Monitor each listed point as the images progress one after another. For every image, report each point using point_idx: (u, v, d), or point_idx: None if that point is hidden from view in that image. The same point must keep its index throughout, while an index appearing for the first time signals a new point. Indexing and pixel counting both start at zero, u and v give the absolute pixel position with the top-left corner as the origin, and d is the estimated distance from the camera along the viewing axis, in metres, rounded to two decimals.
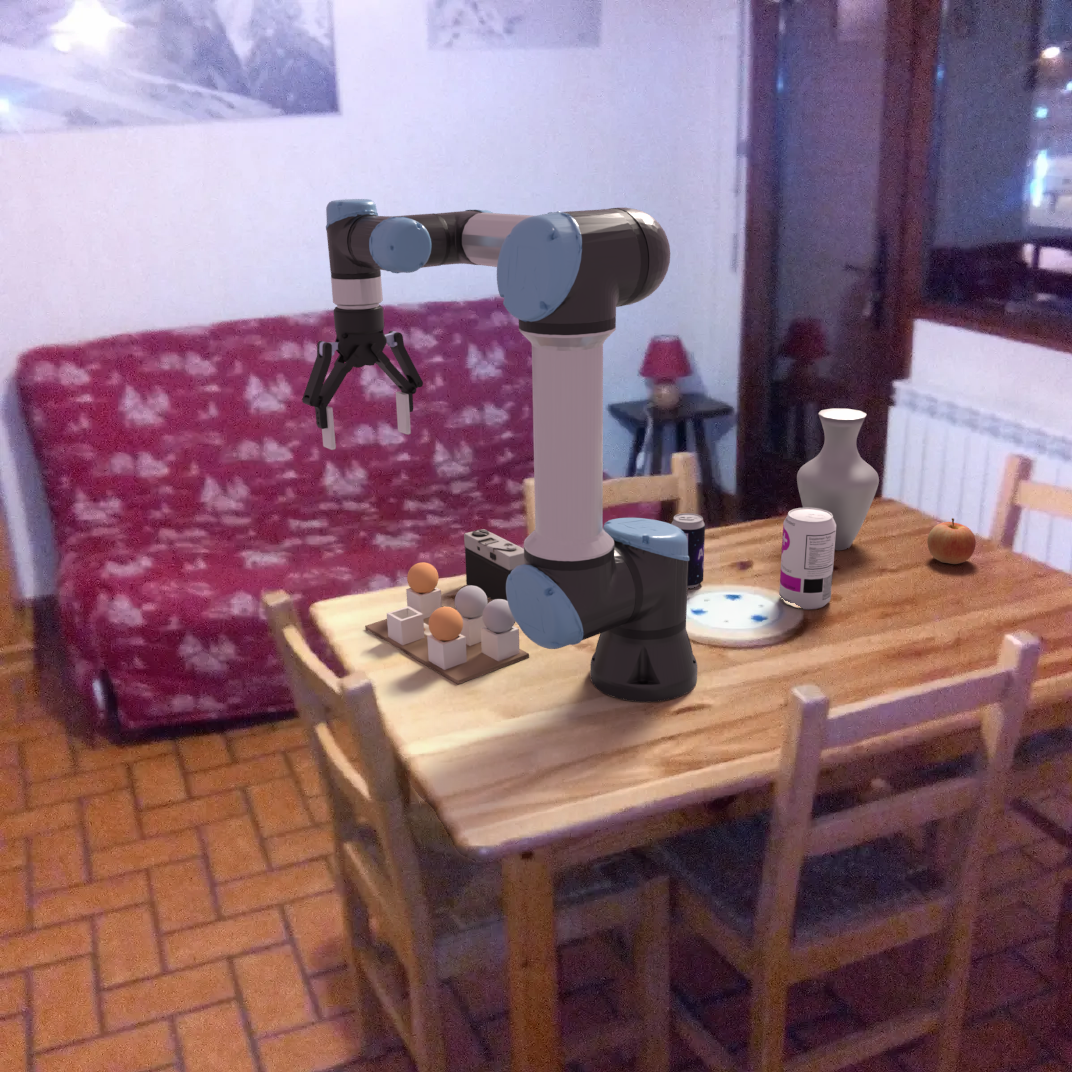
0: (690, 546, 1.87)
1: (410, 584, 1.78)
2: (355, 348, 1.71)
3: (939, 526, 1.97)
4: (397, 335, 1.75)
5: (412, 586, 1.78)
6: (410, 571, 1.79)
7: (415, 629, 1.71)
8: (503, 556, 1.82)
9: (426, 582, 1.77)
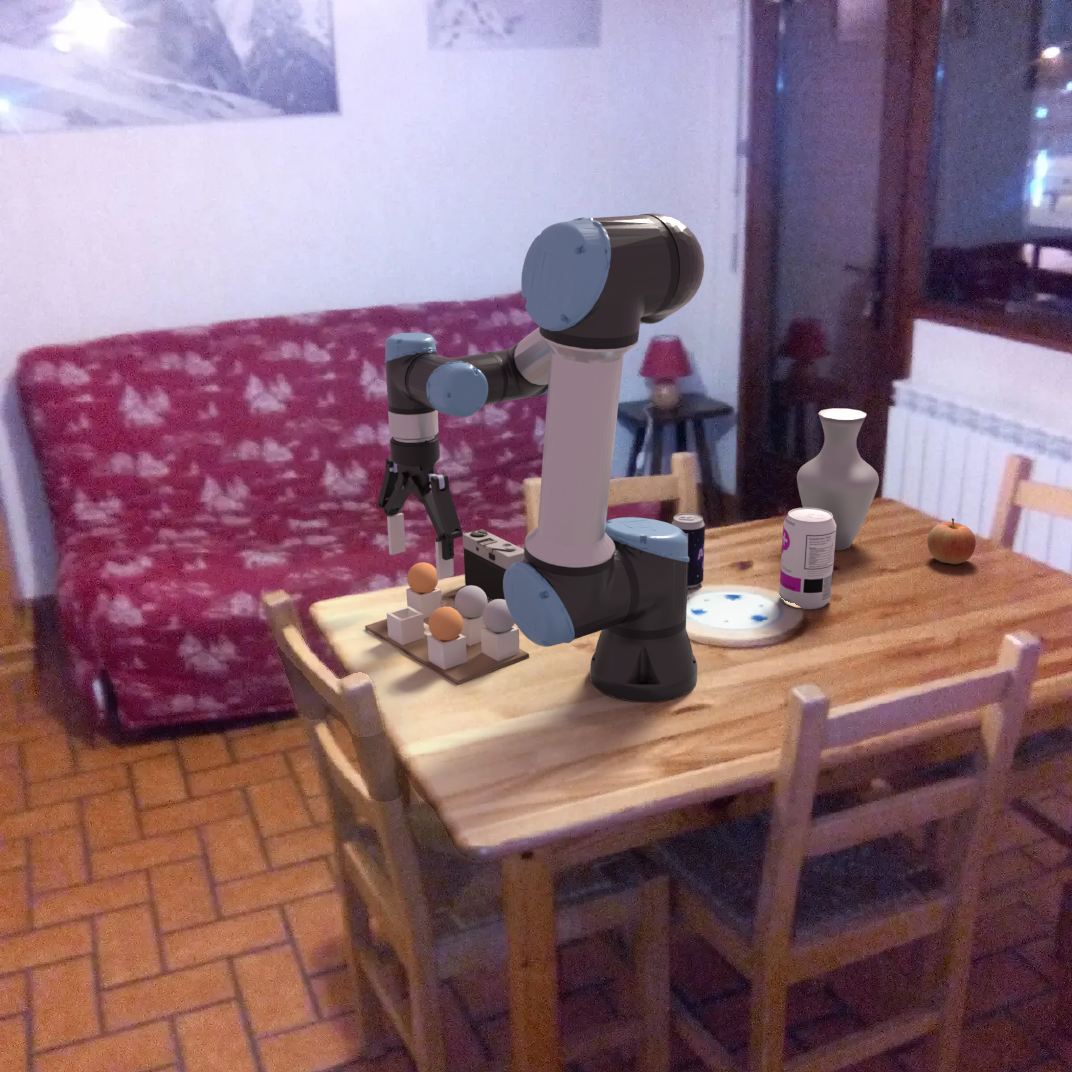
0: (690, 546, 1.87)
1: (410, 584, 1.78)
2: None
3: (939, 526, 1.97)
4: (431, 478, 1.69)
5: (412, 586, 1.78)
6: (410, 571, 1.79)
7: (415, 629, 1.71)
8: (502, 557, 1.81)
9: (426, 582, 1.77)
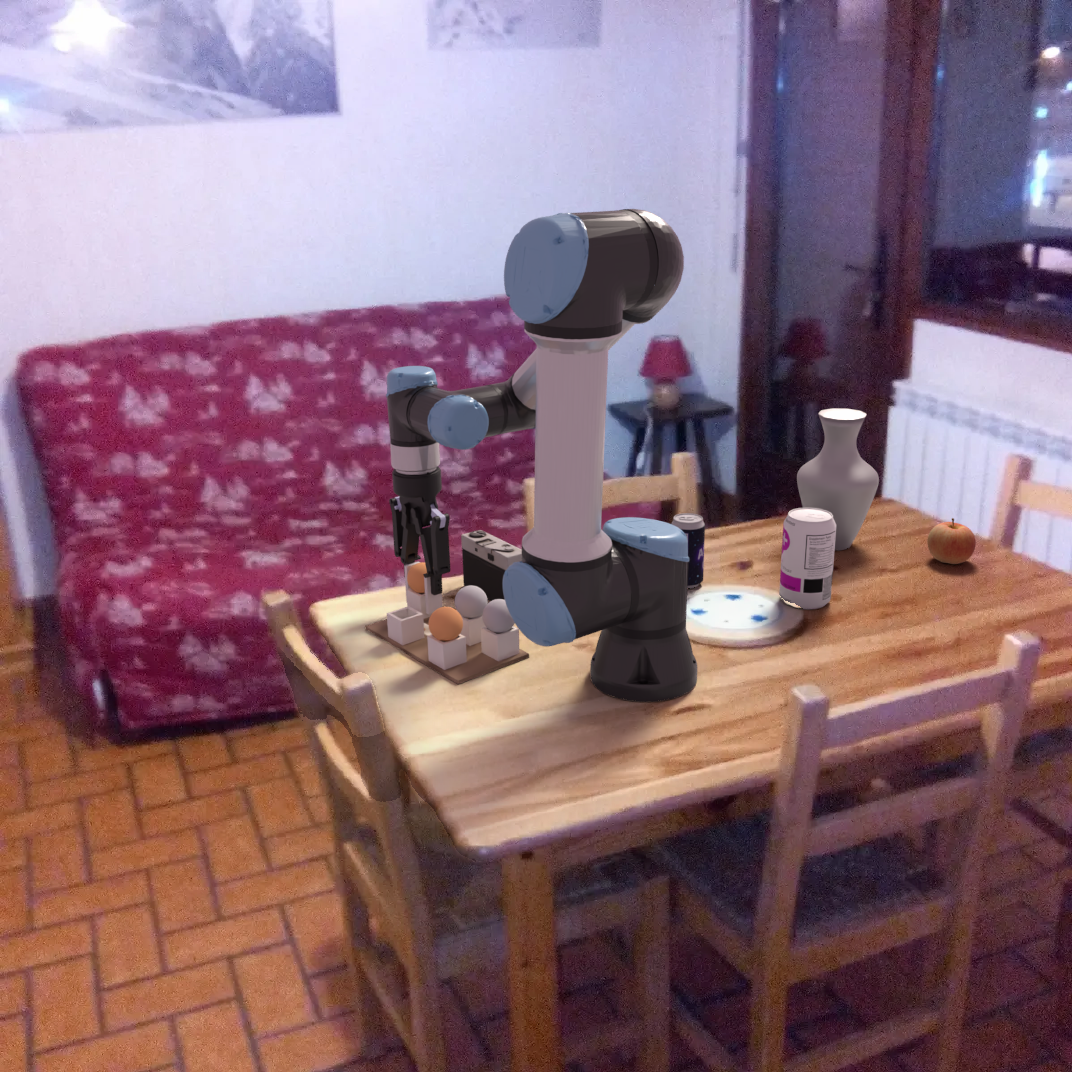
0: (690, 546, 1.87)
1: (410, 584, 1.78)
2: None
3: (939, 526, 1.97)
4: (433, 518, 1.71)
5: (412, 586, 1.78)
6: (410, 571, 1.79)
7: (415, 629, 1.71)
8: (501, 557, 1.81)
9: None
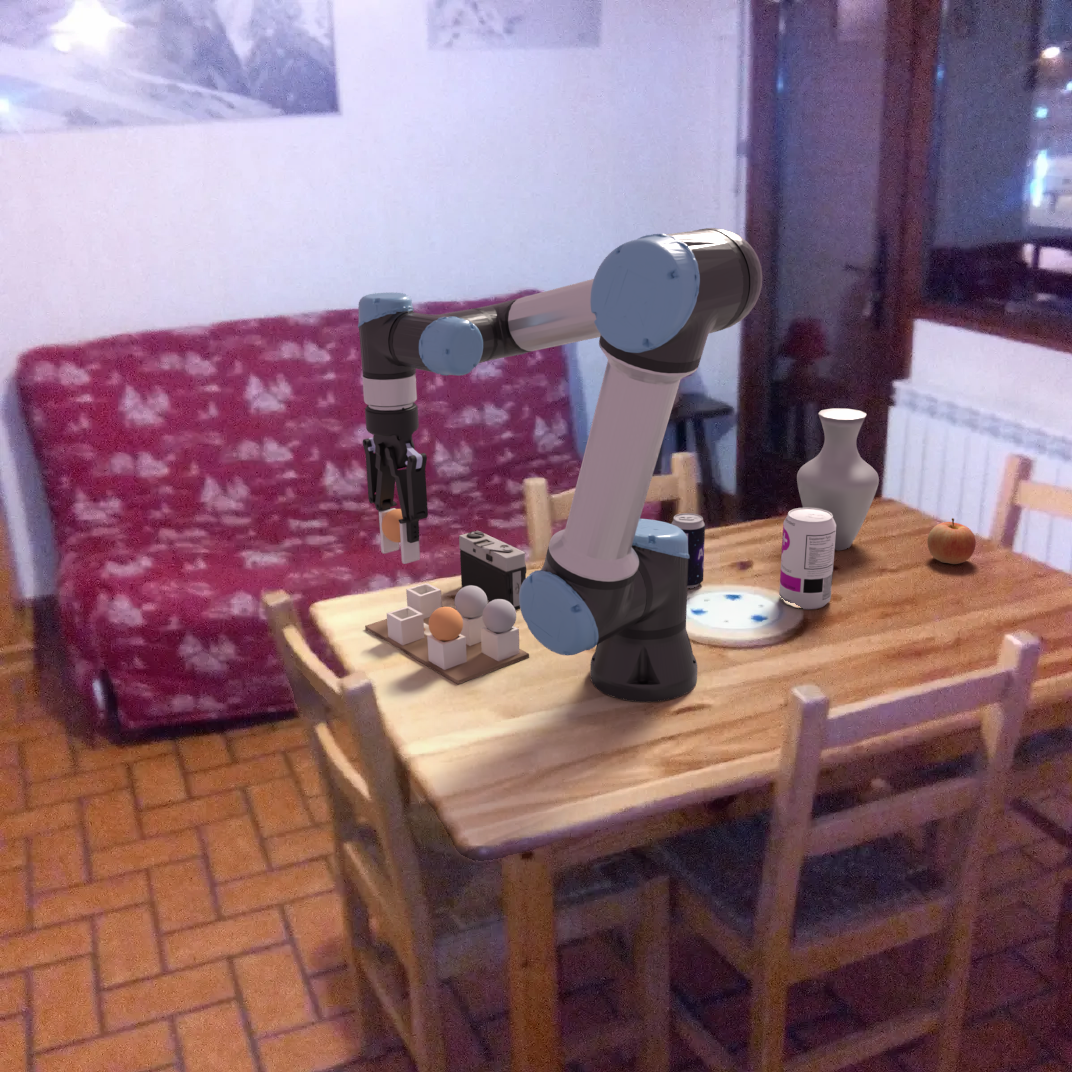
0: (690, 546, 1.87)
1: (385, 532, 1.66)
2: None
3: (939, 526, 1.97)
4: (409, 457, 1.58)
5: (387, 534, 1.65)
6: (385, 518, 1.66)
7: (415, 629, 1.71)
8: (500, 558, 1.81)
9: None
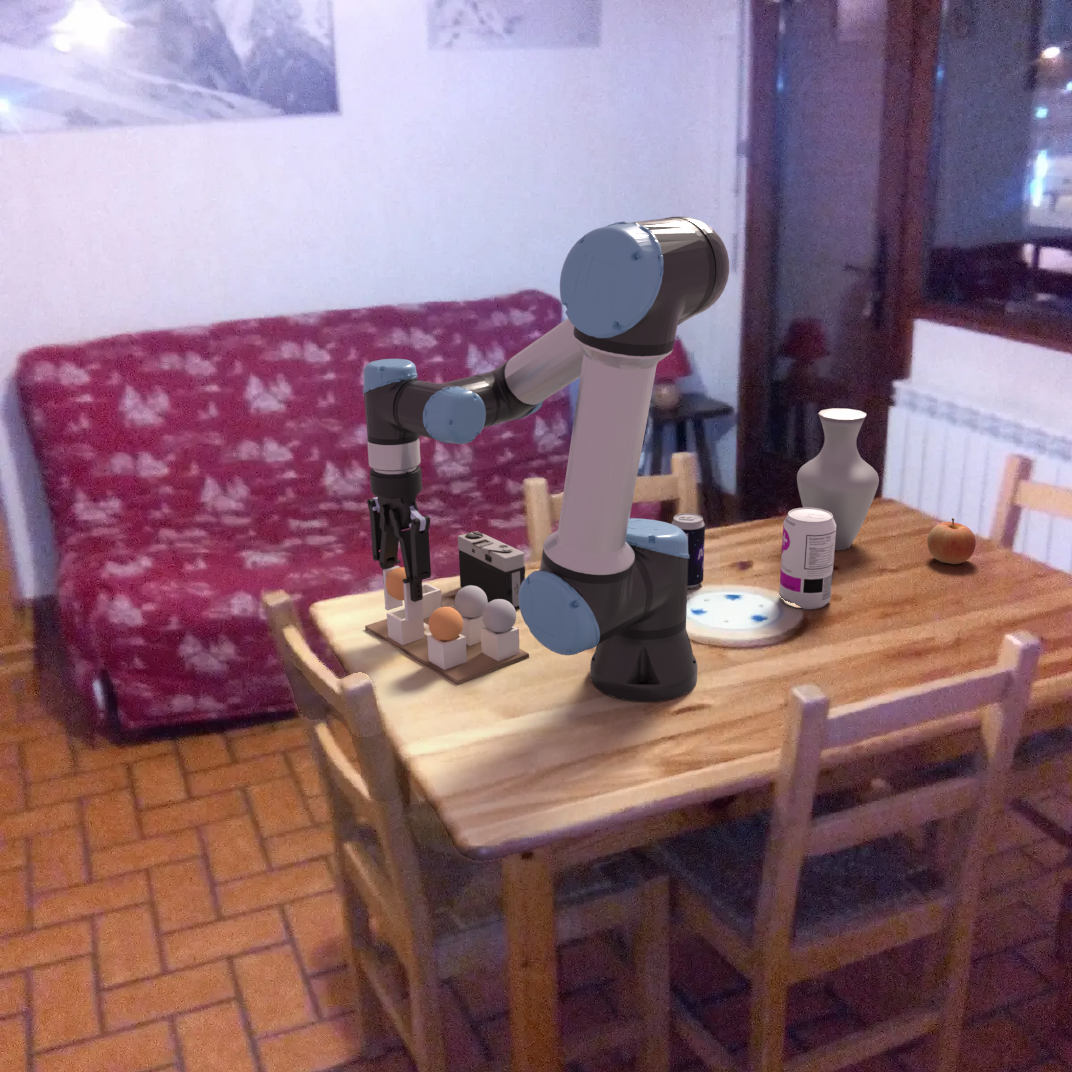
0: (690, 546, 1.87)
1: (389, 590, 1.69)
2: None
3: (939, 526, 1.97)
4: (412, 520, 1.61)
5: (391, 592, 1.69)
6: (388, 576, 1.69)
7: (415, 629, 1.71)
8: (499, 558, 1.81)
9: None
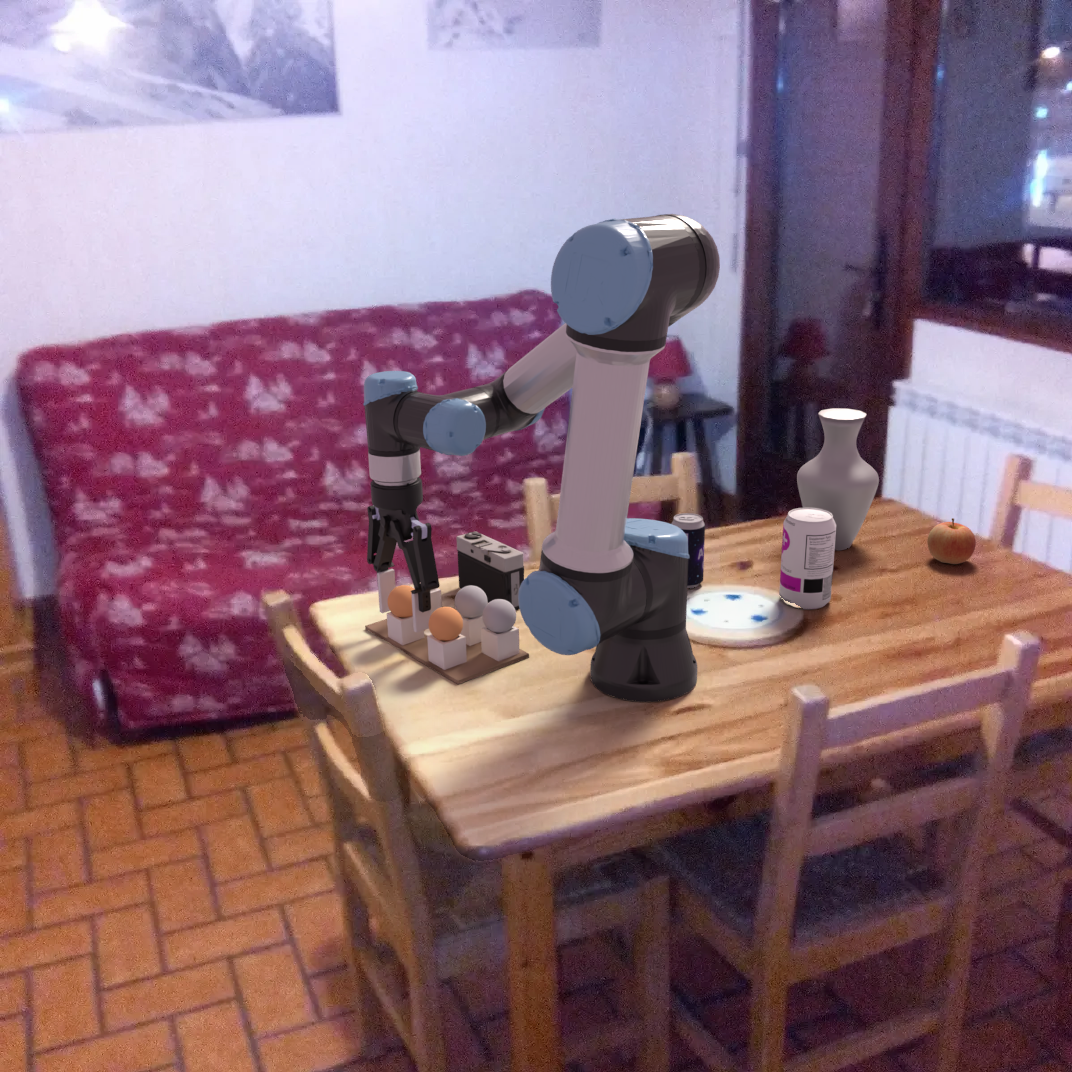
0: (690, 546, 1.87)
1: (390, 608, 1.70)
2: None
3: (939, 526, 1.97)
4: (413, 528, 1.61)
5: (393, 610, 1.69)
6: (390, 594, 1.70)
7: None
8: (498, 559, 1.81)
9: (407, 606, 1.69)
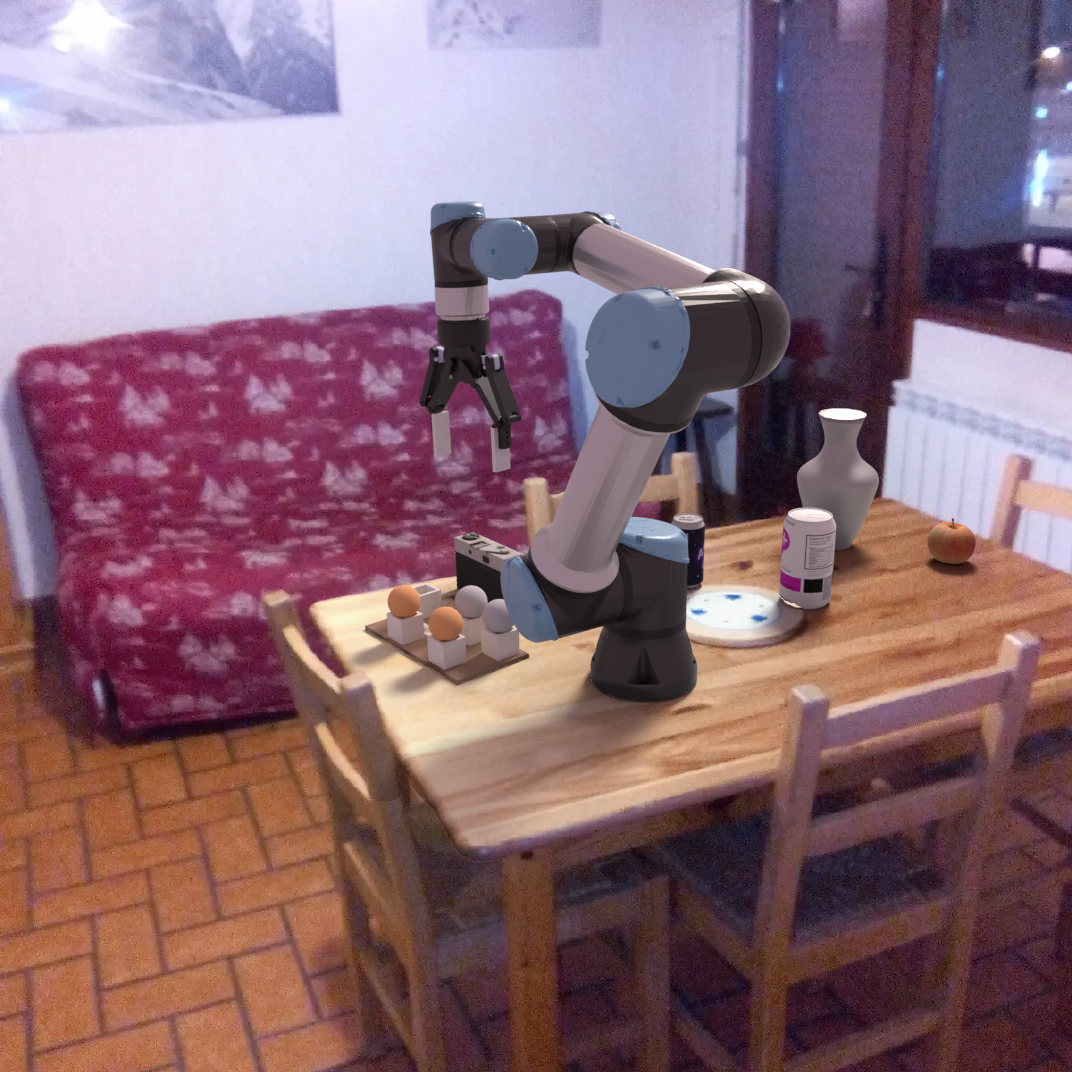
0: (690, 546, 1.87)
1: (390, 608, 1.70)
2: None
3: (939, 526, 1.97)
4: (485, 358, 1.55)
5: (393, 610, 1.69)
6: (390, 594, 1.70)
7: (415, 629, 1.71)
8: (497, 559, 1.80)
9: (407, 606, 1.69)
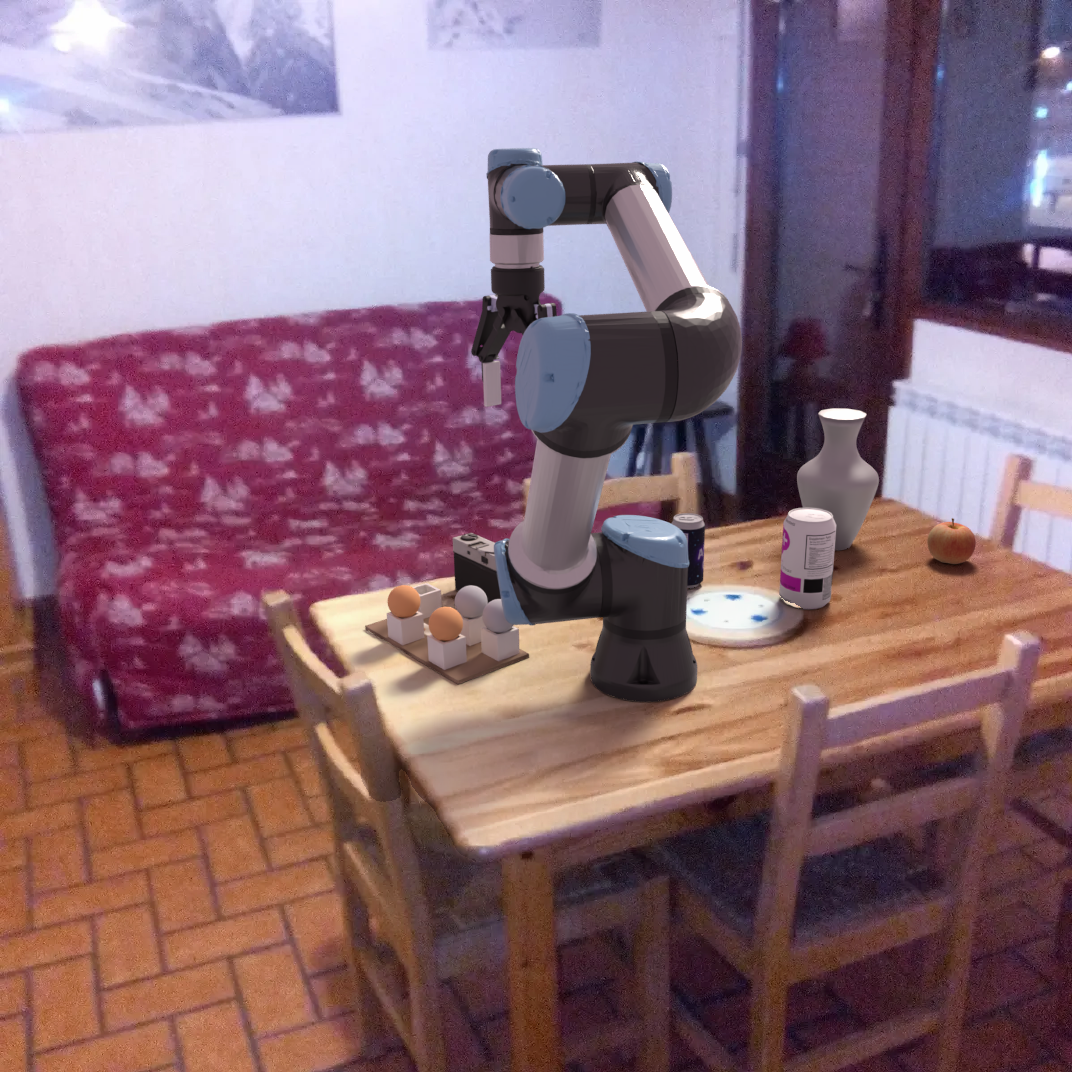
0: (690, 546, 1.87)
1: (390, 608, 1.70)
2: None
3: (939, 526, 1.97)
4: (538, 307, 1.54)
5: (393, 610, 1.69)
6: (390, 594, 1.70)
7: (415, 629, 1.71)
8: None
9: (407, 606, 1.69)
